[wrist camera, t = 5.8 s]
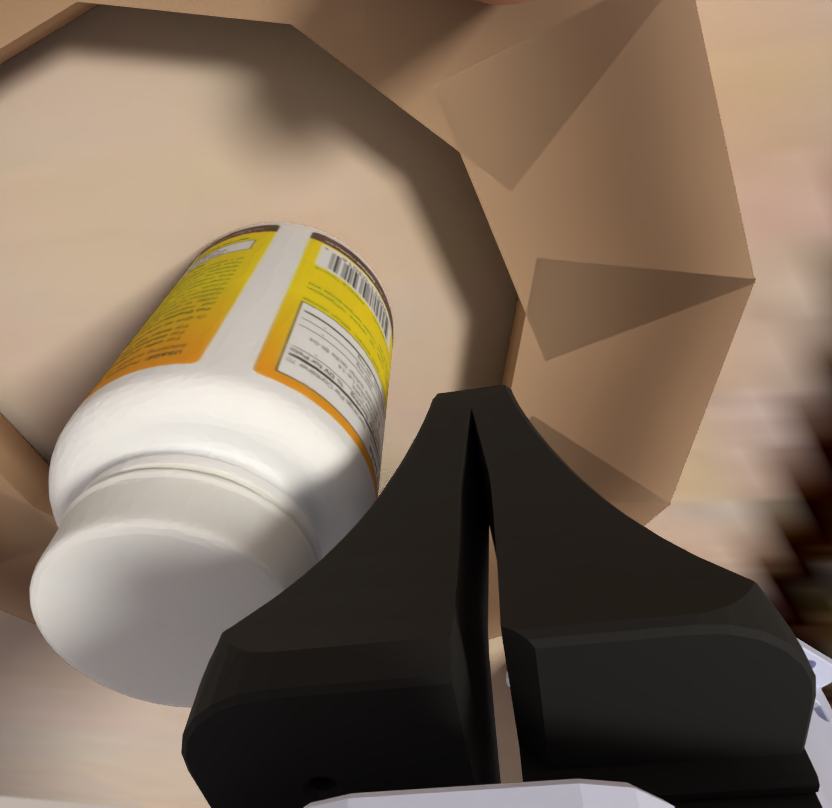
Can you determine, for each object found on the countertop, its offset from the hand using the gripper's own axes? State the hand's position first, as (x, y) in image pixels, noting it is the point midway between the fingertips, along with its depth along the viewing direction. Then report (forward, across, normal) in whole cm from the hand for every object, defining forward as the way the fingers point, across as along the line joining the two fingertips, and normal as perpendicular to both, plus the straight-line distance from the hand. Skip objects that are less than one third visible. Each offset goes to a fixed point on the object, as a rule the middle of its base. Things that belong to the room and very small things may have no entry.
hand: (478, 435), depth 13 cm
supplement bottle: (+6, +5, 0) cm, 8 cm away
